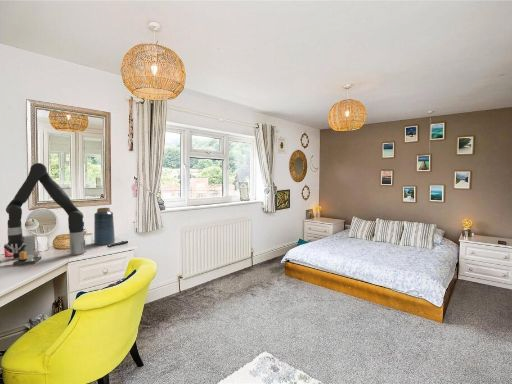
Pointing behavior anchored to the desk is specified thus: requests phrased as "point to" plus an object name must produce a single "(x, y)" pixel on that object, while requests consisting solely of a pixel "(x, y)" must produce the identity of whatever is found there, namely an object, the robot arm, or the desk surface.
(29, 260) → the panel
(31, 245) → the skincare box
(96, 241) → the blue lidded jar
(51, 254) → the desk surface
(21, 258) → the orange rectangular block
